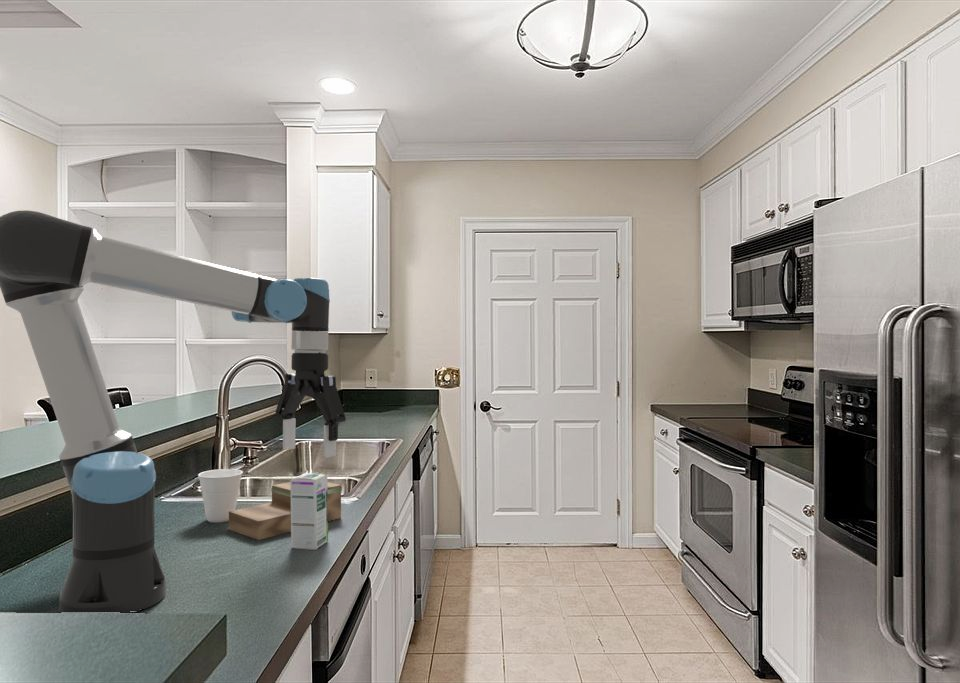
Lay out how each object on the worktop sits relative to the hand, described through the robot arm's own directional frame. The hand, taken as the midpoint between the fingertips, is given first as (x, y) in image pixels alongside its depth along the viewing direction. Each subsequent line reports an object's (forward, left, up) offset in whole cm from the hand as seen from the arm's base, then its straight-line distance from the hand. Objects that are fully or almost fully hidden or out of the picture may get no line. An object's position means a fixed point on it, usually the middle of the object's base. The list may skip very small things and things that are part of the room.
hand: (308, 452), depth 137 cm
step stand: (+5, +15, -19) cm, 25 cm away
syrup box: (-1, -2, -19) cm, 19 cm away
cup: (-3, +30, -19) cm, 36 cm away
